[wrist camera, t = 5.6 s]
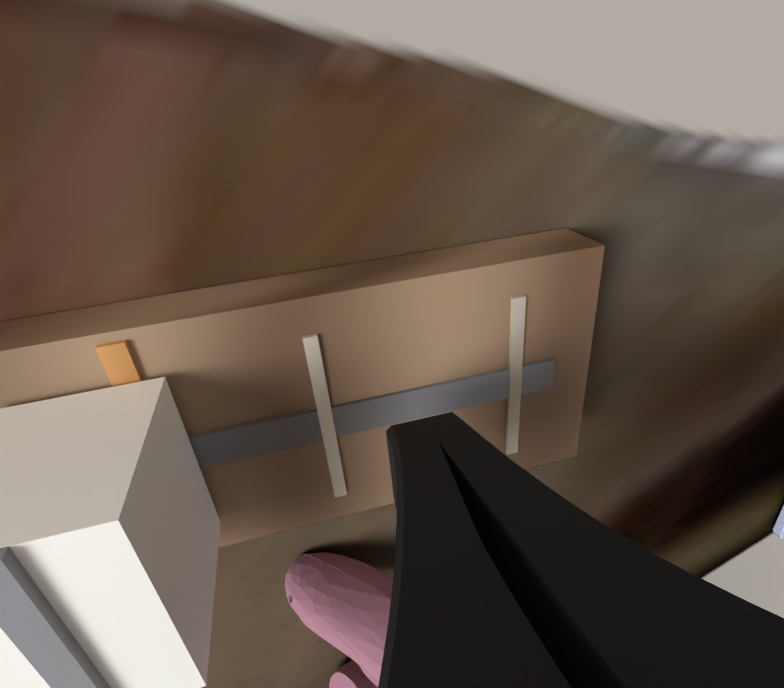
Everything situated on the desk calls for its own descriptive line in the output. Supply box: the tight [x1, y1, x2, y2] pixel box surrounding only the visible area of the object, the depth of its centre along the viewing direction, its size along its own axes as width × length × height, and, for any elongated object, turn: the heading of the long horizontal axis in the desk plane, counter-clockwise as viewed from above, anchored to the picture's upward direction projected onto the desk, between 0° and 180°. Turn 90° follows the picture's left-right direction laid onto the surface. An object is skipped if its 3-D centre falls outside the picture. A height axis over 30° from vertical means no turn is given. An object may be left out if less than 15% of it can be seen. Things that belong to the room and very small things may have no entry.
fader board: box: [0, 228, 605, 548], centre depth 11 cm, size 13×6×2 cm, turn 95°
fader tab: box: [0, 377, 221, 688], centre depth 8 cm, size 3×4×4 cm
